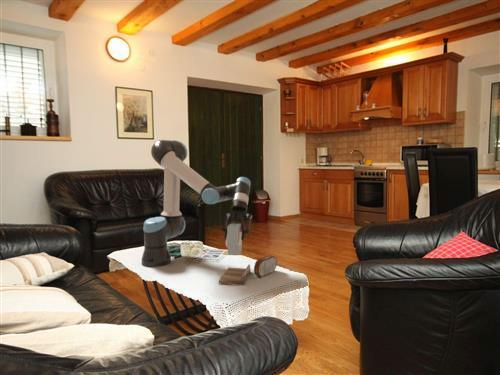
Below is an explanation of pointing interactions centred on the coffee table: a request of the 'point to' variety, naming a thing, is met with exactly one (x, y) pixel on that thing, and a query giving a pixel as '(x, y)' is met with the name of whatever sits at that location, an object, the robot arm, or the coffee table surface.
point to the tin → (265, 265)
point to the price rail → (245, 273)
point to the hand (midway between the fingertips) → (233, 245)
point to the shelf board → (233, 276)
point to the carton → (233, 239)
